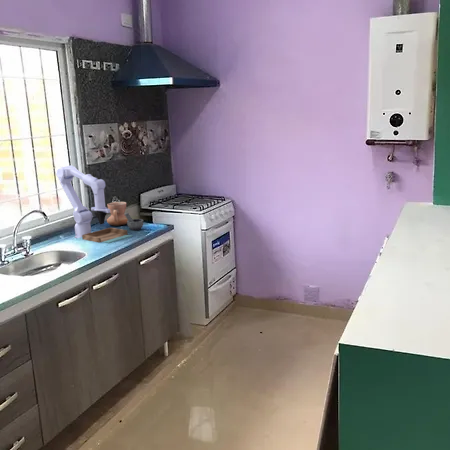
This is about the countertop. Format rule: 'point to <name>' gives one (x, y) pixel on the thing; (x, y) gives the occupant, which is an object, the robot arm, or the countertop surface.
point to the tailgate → (117, 238)
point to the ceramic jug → (117, 213)
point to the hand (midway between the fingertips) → (101, 223)
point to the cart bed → (104, 235)
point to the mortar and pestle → (134, 222)
